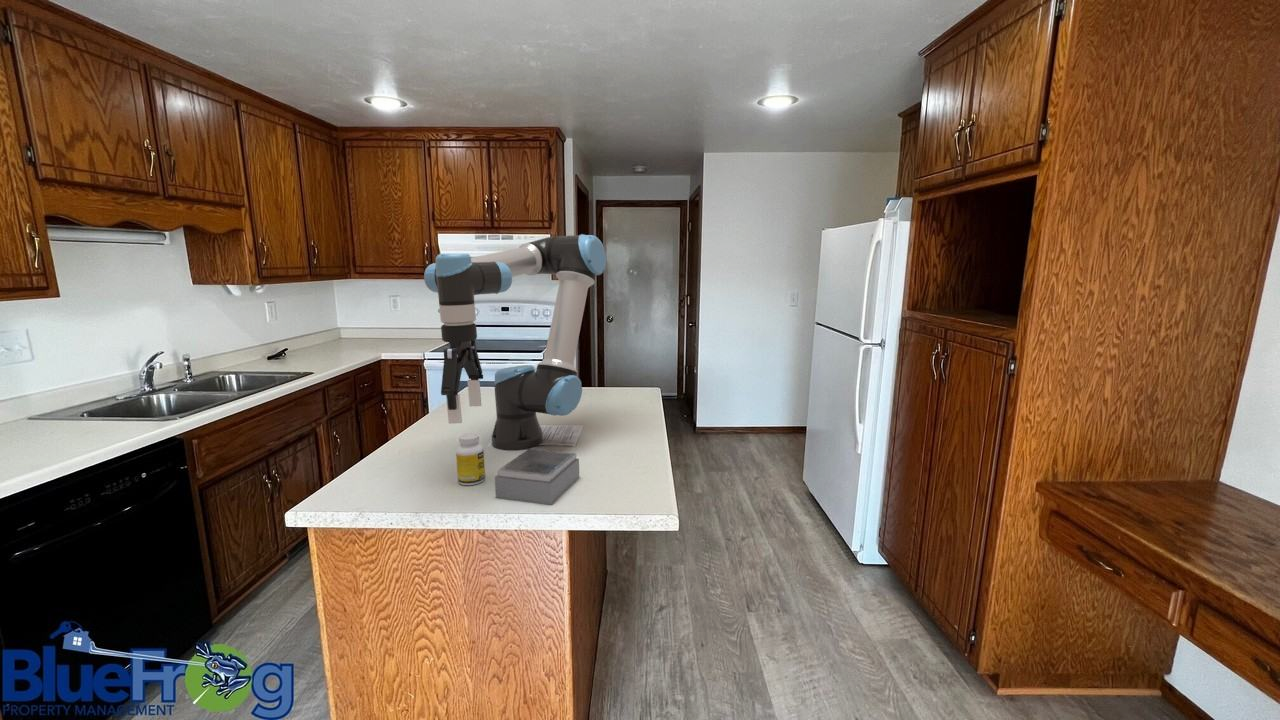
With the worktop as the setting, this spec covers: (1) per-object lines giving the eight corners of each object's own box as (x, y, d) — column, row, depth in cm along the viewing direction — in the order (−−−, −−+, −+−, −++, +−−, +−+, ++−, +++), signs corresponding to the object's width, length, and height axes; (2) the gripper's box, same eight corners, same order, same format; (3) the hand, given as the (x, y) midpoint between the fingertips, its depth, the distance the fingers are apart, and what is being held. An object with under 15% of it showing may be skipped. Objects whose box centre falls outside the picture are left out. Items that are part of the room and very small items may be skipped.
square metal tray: (522, 471, 136) (521, 447, 135) (579, 477, 131) (578, 453, 130) (488, 496, 121) (486, 469, 120) (551, 504, 116) (550, 477, 115)
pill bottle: (477, 487, 126) (474, 441, 124) (452, 485, 127) (449, 439, 125) (490, 477, 132) (487, 432, 130) (466, 475, 134) (463, 431, 132)
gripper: (461, 317, 130) (468, 399, 134) (418, 331, 106) (427, 431, 110) (491, 317, 130) (497, 399, 134) (454, 330, 106) (463, 431, 110)
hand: (466, 414), depth 122 cm, fingers open, 13 cm apart
